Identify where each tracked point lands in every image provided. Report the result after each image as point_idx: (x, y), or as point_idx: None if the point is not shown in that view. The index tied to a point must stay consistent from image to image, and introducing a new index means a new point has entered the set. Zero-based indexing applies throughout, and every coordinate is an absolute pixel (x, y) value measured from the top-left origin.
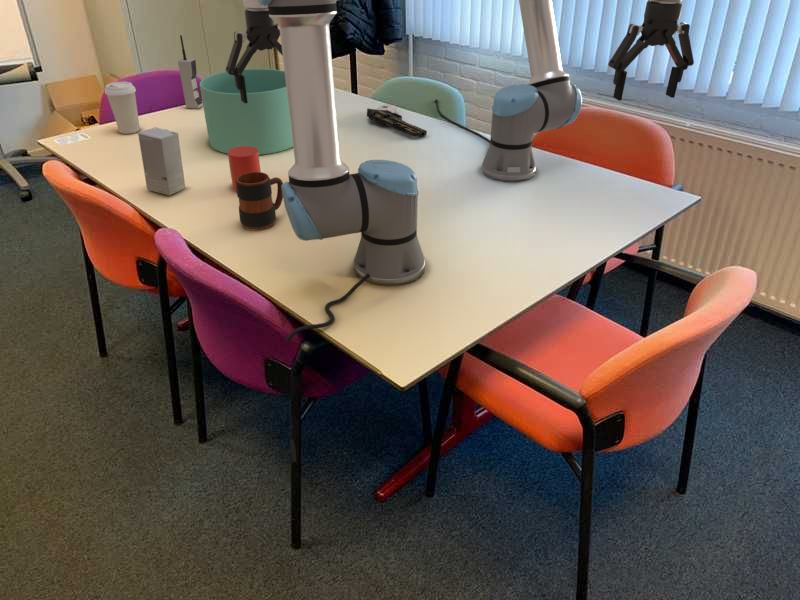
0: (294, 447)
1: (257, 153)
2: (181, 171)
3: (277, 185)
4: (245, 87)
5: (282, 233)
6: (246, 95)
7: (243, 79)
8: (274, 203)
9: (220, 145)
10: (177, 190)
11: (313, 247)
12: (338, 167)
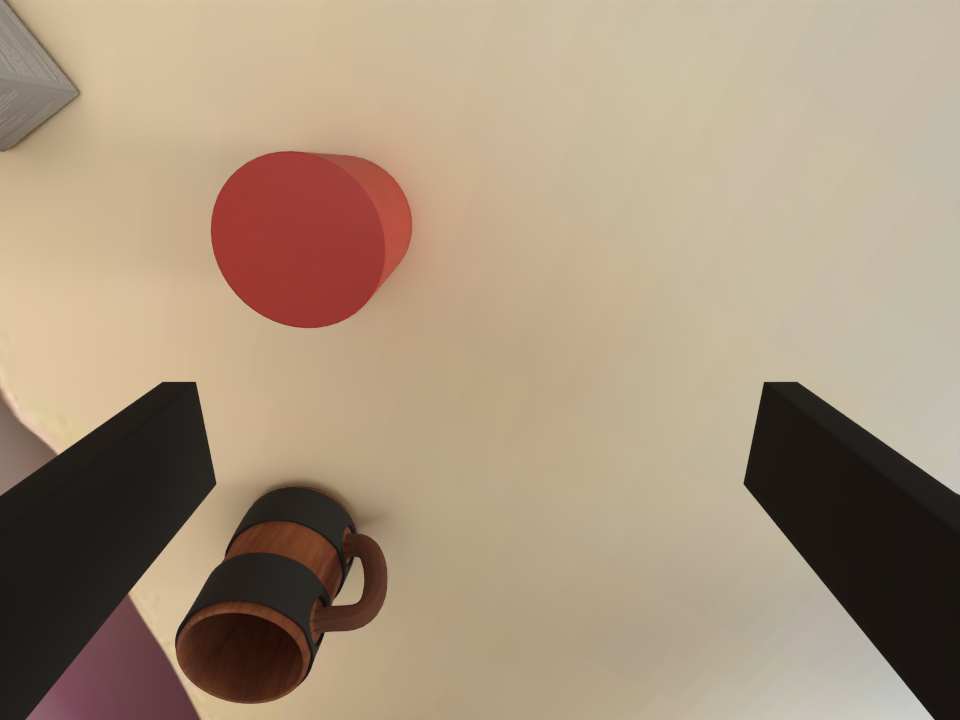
0: None
1: (372, 295)
2: (5, 91)
3: (362, 594)
4: (112, 608)
5: None
6: (171, 534)
7: (6, 717)
8: (356, 550)
9: None
10: (38, 123)
11: (400, 694)
12: None
